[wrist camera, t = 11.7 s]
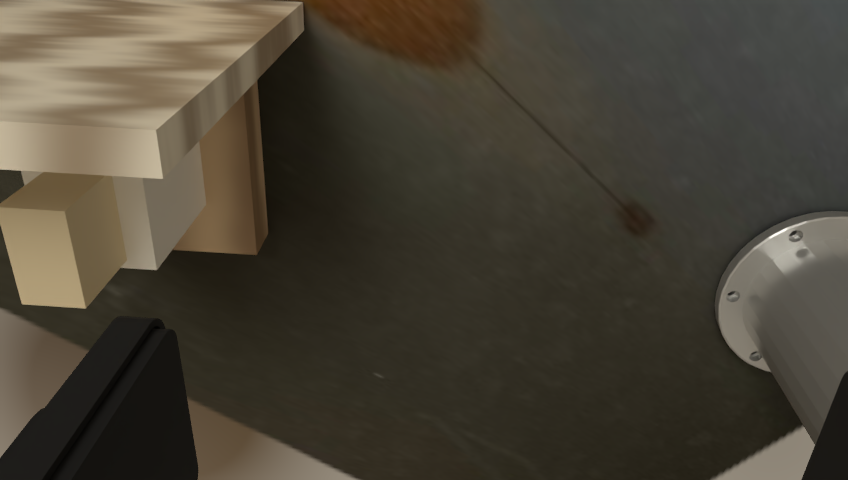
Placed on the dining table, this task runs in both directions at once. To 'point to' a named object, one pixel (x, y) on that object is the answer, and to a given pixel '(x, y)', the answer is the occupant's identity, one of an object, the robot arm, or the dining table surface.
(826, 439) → the robot arm
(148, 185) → the beige and white blocks
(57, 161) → the wooden l-shaped stand
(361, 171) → the dining table surface
